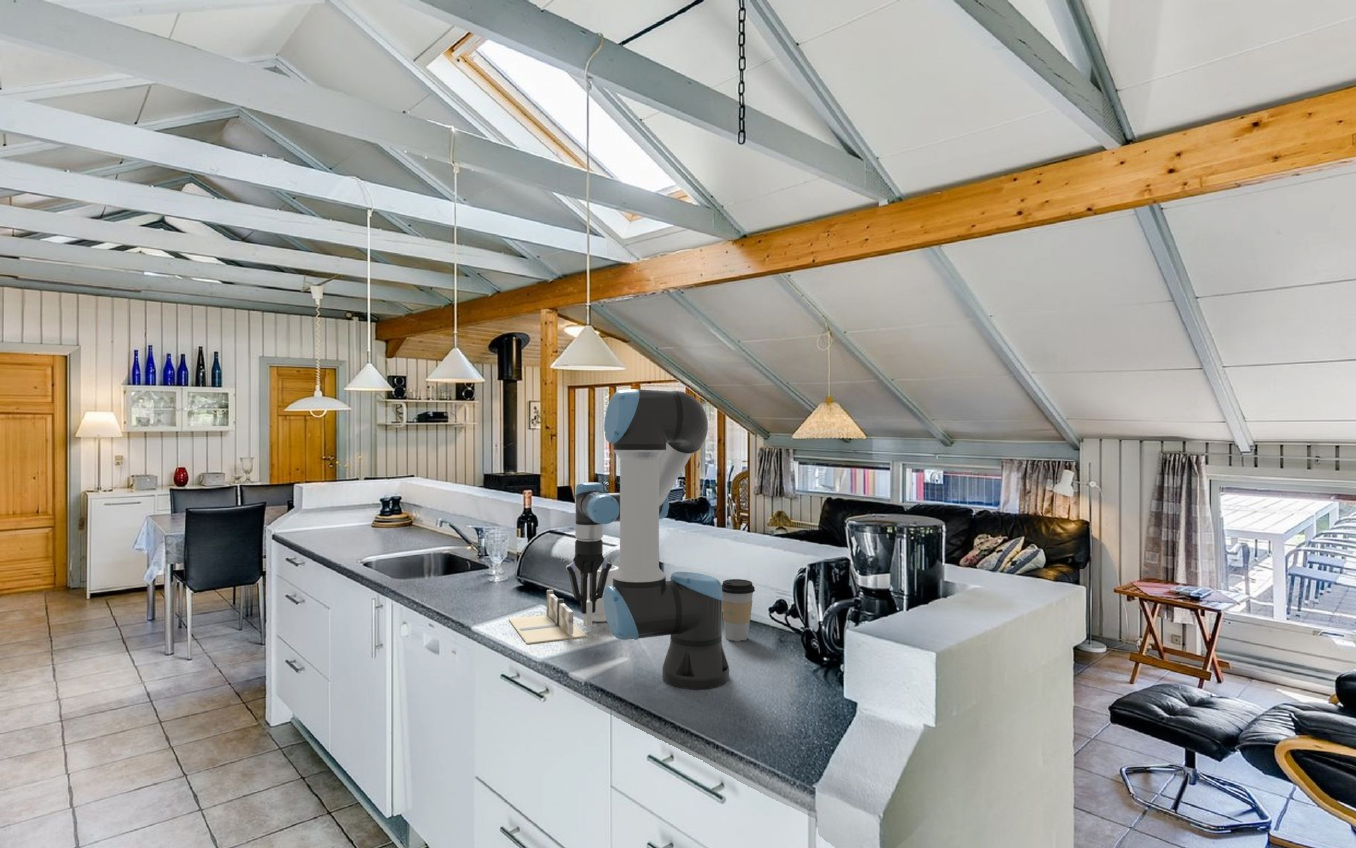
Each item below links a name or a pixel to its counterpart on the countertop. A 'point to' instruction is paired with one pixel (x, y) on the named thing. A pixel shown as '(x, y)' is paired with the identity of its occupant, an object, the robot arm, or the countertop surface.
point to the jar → (600, 612)
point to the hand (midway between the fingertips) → (587, 624)
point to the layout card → (542, 629)
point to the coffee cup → (737, 608)
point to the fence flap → (564, 616)
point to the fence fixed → (552, 606)
